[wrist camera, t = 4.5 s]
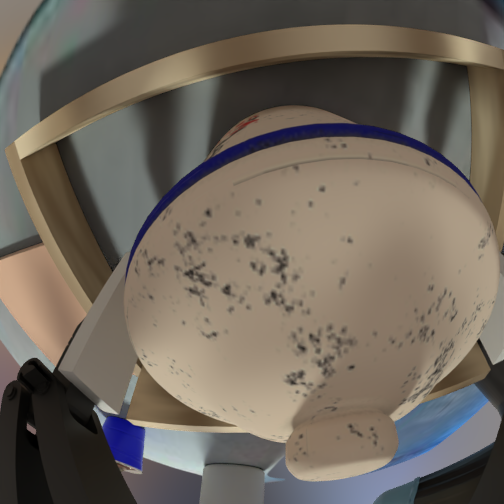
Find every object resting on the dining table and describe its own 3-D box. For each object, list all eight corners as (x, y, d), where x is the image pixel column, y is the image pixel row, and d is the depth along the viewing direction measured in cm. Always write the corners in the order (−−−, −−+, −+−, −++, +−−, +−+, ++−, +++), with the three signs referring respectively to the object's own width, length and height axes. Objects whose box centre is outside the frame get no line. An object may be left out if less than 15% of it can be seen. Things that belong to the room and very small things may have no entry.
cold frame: (476, 51, 8) (576, 65, 2) (455, 300, 17) (495, 373, 11) (40, 133, 11) (-54, 182, 5) (147, 345, 20) (122, 423, 14)
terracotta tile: (68, 234, 15) (63, 239, 14) (155, 370, 22) (154, 375, 22) (-16, 263, 17) (-19, 267, 16) (57, 362, 24) (55, 366, 24)
